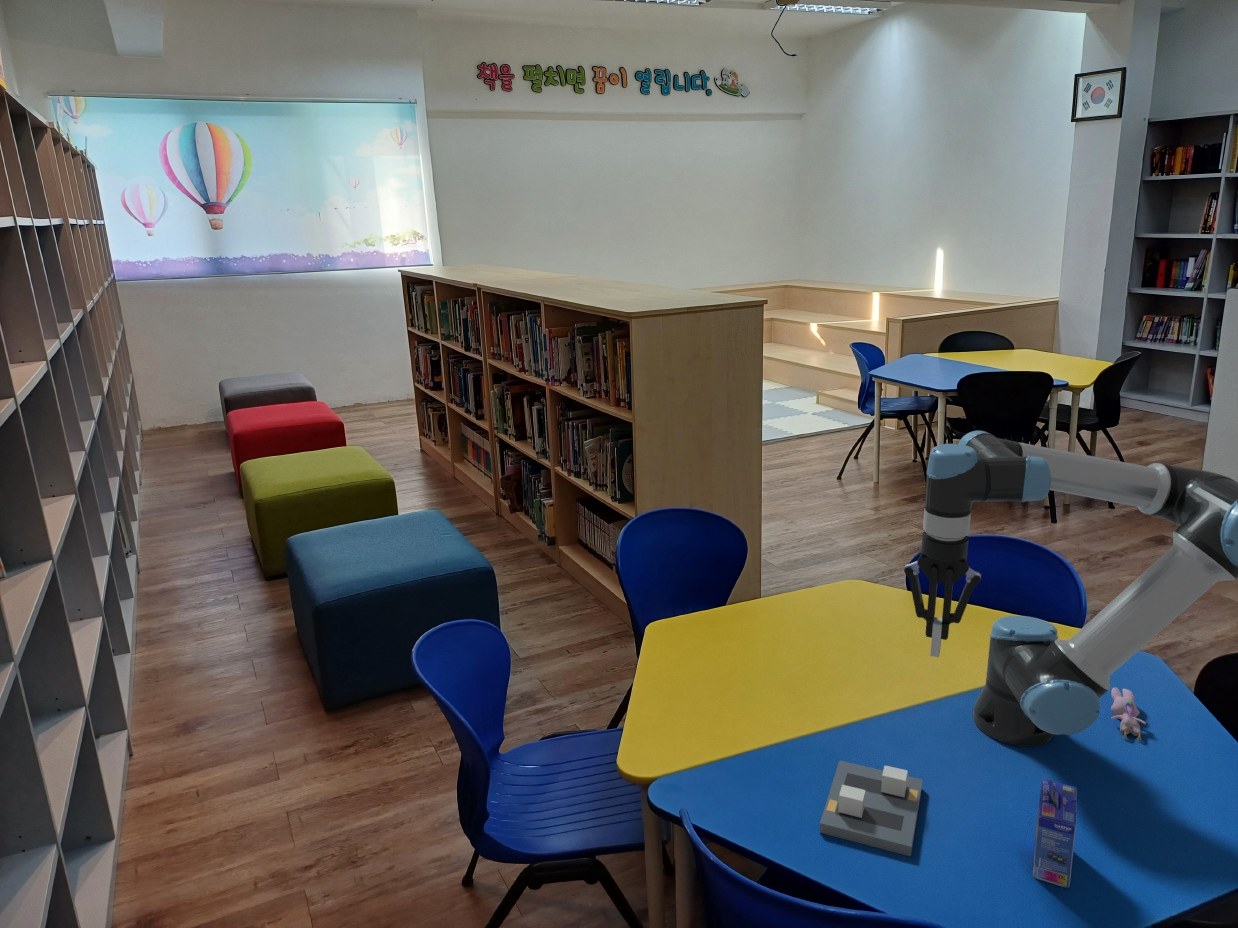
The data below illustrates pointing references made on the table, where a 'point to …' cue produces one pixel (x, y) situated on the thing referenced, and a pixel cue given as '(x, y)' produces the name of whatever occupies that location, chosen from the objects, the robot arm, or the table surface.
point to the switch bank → (873, 811)
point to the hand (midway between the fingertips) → (935, 652)
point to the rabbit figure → (1126, 712)
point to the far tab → (894, 781)
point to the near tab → (851, 801)
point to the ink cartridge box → (1055, 833)
